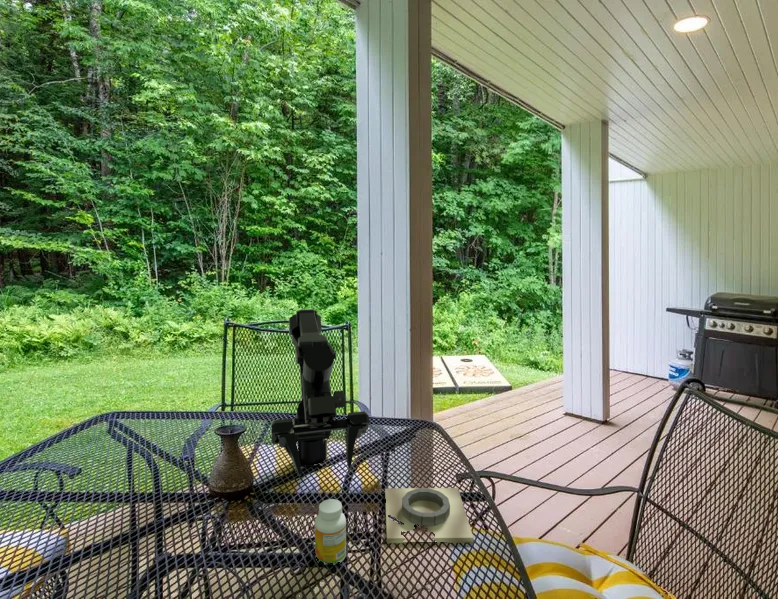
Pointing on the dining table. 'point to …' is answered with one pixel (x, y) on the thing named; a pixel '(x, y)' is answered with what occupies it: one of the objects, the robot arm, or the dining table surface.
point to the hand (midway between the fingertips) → (325, 471)
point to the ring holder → (427, 513)
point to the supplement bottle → (330, 532)
